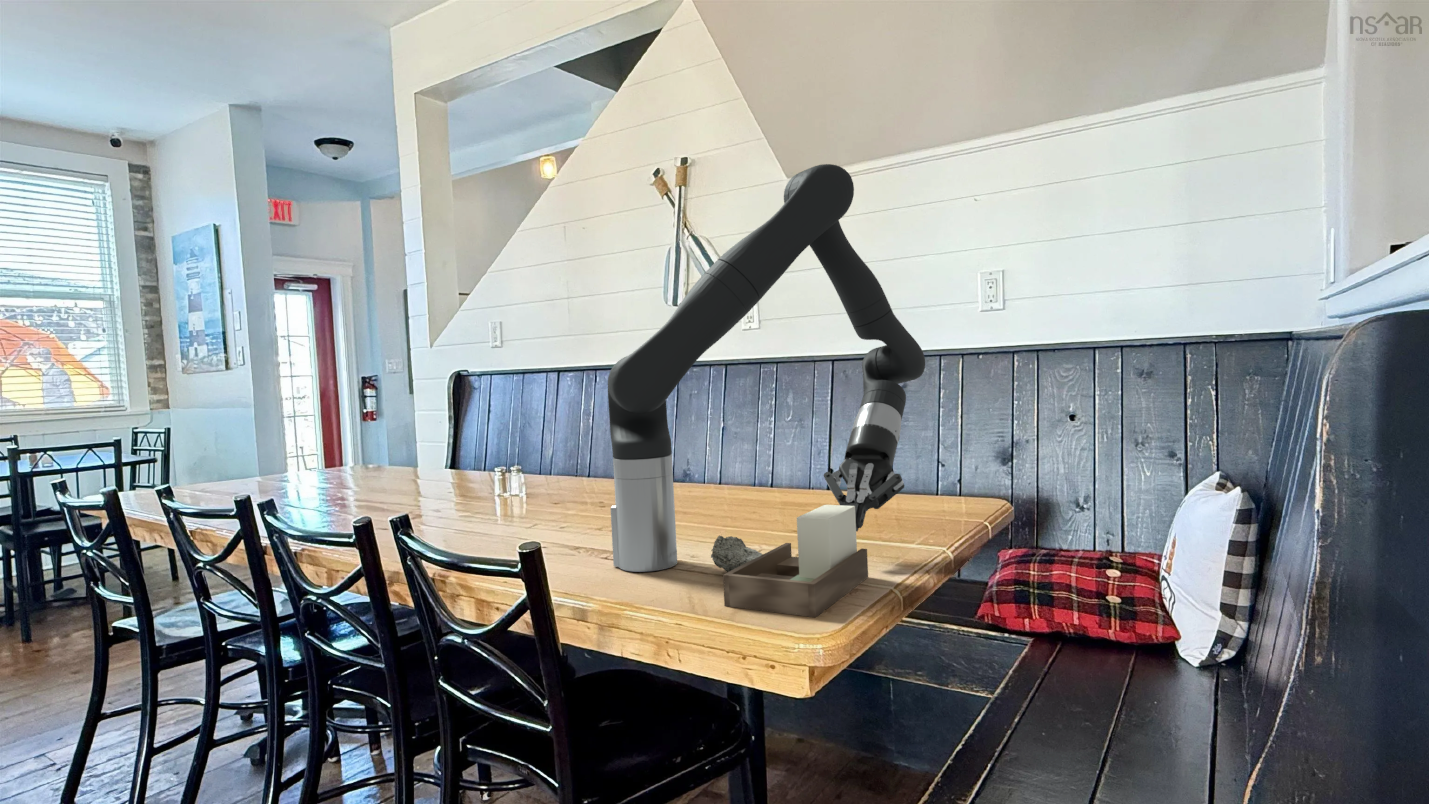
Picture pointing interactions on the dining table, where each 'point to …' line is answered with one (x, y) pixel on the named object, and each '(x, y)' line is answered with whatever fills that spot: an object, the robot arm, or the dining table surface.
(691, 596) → the dining table surface
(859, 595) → the dining table surface
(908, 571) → the dining table surface
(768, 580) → the box
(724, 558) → the rock sample
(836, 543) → the brick
